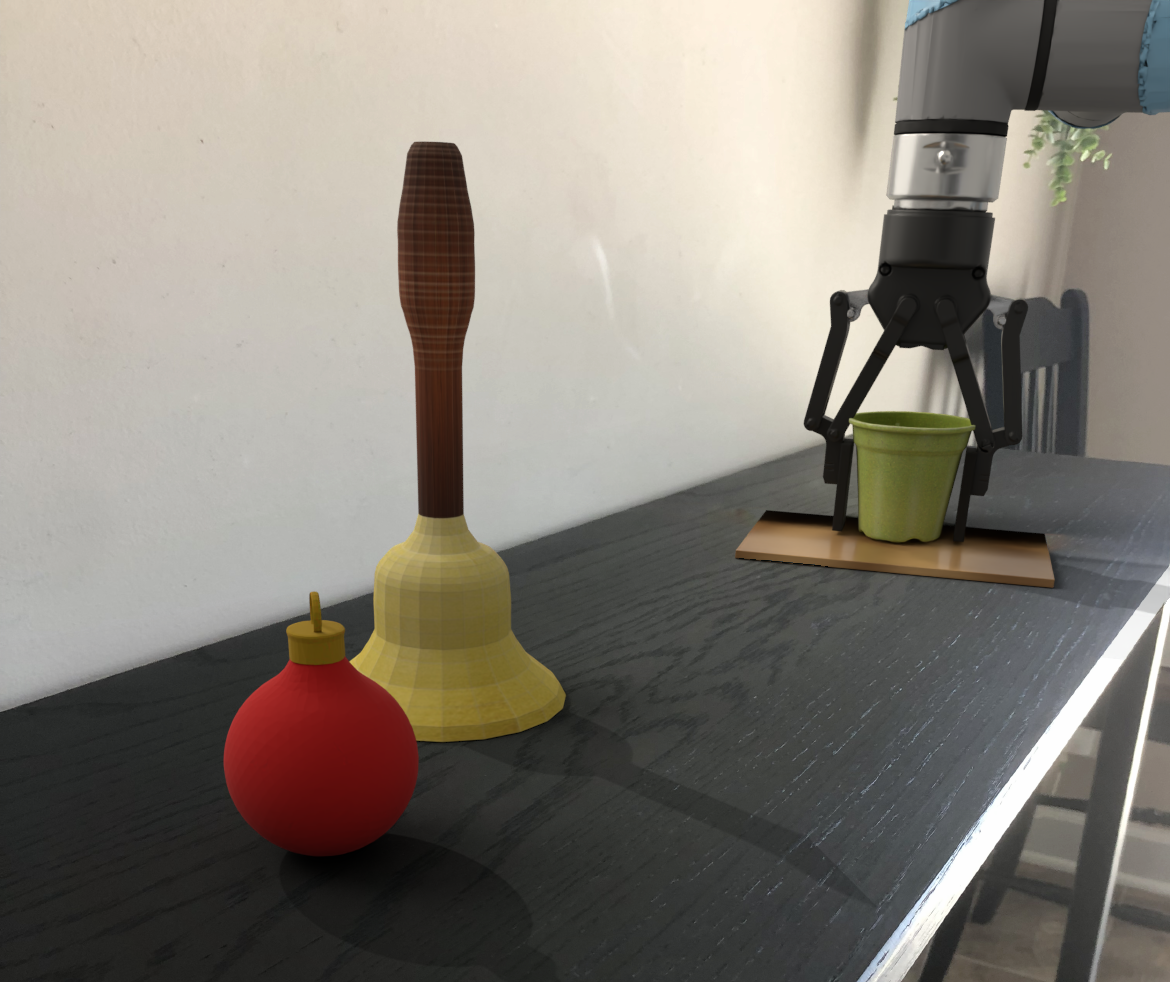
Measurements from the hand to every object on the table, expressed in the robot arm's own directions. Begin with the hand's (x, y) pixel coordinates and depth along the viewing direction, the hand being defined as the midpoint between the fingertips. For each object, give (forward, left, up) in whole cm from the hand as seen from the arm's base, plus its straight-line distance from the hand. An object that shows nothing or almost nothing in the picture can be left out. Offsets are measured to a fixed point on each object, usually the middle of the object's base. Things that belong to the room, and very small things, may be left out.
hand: (897, 532), depth 97 cm
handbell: (+20, +43, -1) cm, 47 cm away
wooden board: (0, 0, -1) cm, 1 cm away
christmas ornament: (+18, +60, -1) cm, 63 cm away
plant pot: (0, 0, 0) cm, 0 cm away
